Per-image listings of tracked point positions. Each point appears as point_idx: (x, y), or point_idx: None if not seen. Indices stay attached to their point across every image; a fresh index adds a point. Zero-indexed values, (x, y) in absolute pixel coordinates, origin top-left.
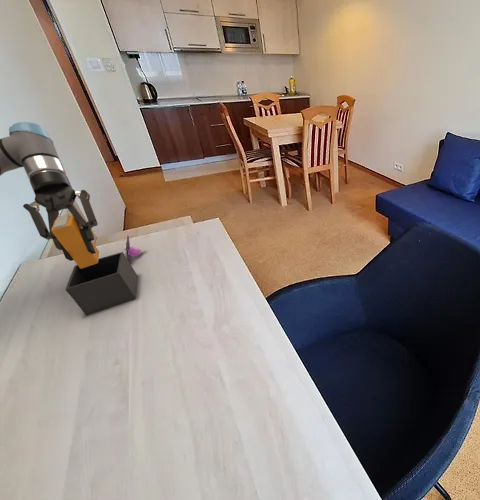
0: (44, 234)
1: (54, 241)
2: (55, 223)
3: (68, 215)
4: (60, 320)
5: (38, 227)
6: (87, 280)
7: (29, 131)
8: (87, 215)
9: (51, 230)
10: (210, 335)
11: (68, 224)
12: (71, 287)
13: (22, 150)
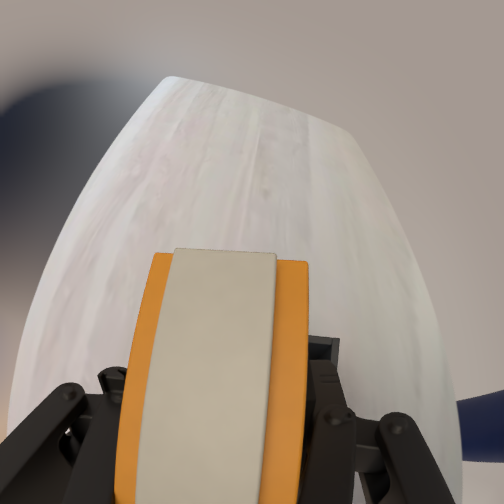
0: (389, 424)
1: (337, 390)
2: (263, 345)
3: (136, 498)
4: (370, 379)
5: (429, 477)
6: (301, 466)
7: None
8: (46, 426)
9: (304, 262)
10: (153, 170)
11: (166, 275)
12: (323, 337)
13: None
